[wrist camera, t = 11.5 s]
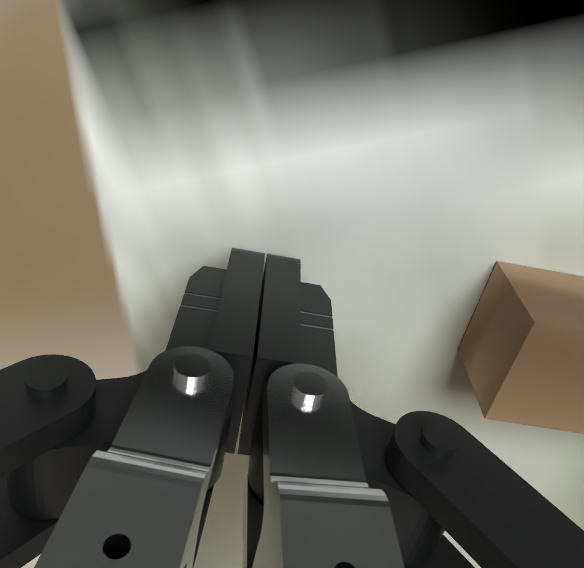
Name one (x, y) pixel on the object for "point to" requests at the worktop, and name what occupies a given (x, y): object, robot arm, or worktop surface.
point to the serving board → (528, 348)
